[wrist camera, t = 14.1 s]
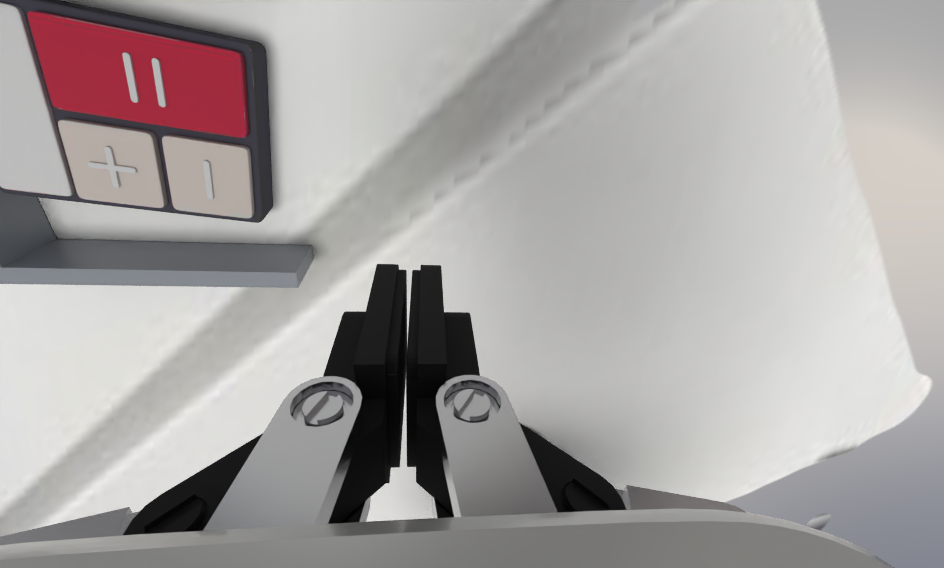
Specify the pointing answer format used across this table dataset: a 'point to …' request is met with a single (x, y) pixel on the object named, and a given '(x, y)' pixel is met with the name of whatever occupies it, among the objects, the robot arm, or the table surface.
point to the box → (135, 257)
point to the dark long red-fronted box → (132, 112)
